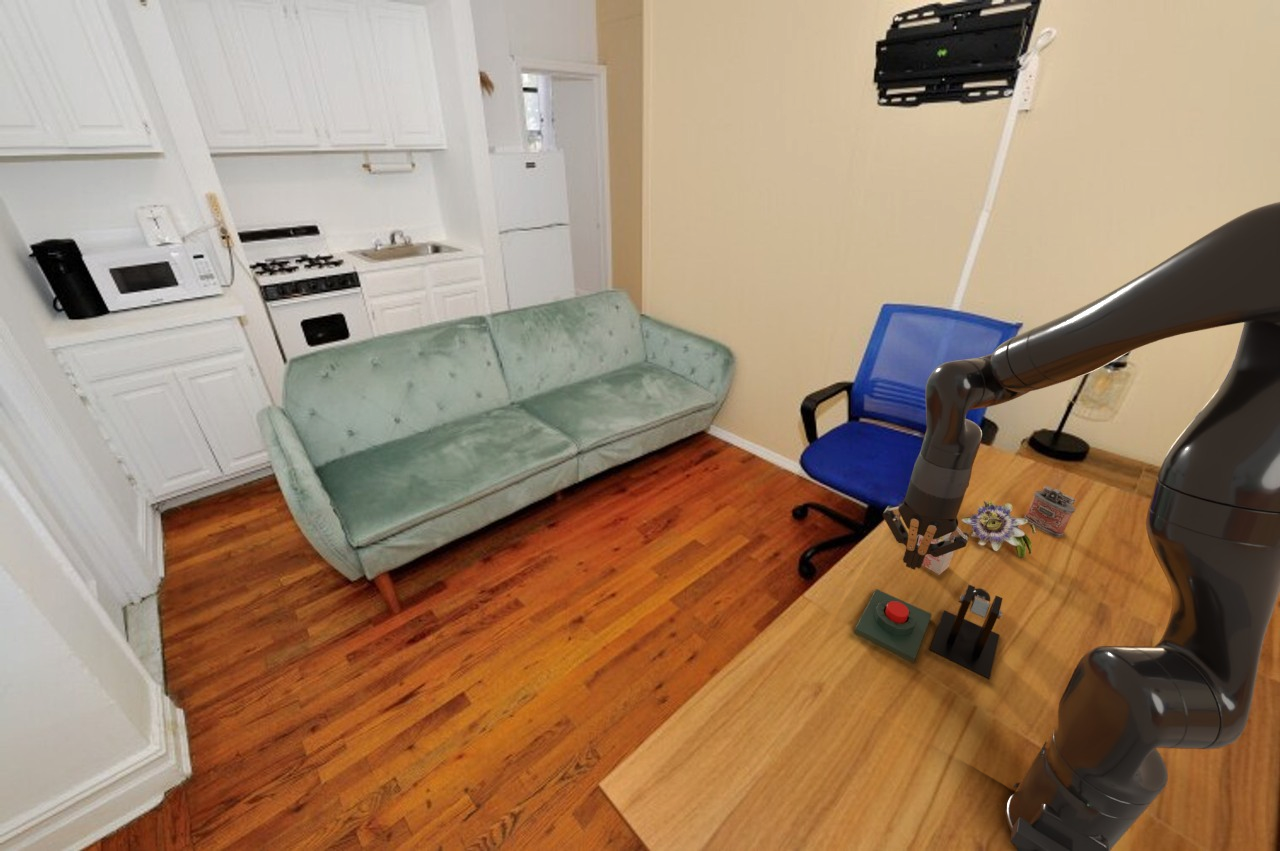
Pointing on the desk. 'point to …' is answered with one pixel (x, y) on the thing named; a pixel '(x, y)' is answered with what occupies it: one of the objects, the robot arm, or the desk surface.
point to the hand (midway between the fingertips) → (911, 565)
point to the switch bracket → (968, 637)
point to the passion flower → (999, 528)
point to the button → (896, 612)
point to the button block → (893, 627)
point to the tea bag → (938, 562)
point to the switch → (980, 602)
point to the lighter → (1050, 511)
